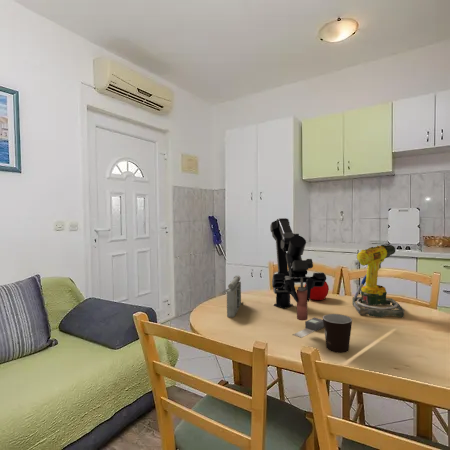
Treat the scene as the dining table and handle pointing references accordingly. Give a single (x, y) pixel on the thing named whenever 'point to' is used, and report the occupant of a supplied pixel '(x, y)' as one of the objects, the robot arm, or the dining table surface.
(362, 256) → the cordless drill
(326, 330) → the coffee mug
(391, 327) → the dining table surface
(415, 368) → the dining table surface
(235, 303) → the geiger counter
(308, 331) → the subfloor panel
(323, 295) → the tomato
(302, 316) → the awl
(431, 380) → the dining table surface
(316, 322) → the finder
